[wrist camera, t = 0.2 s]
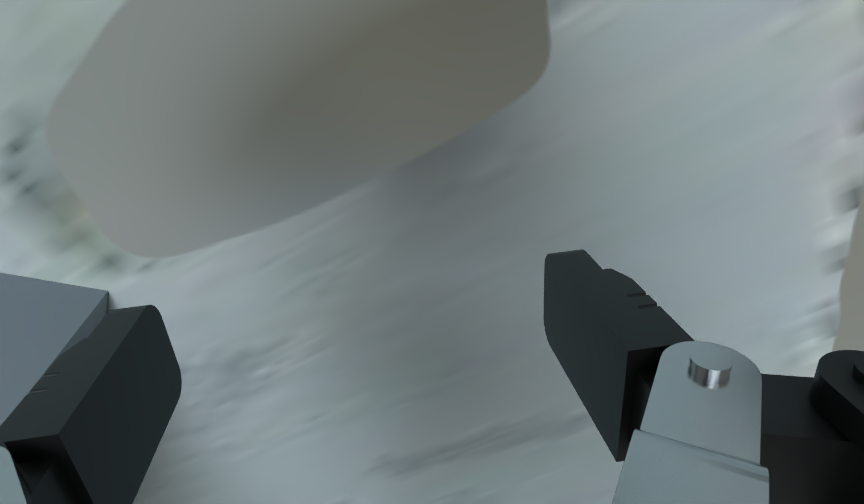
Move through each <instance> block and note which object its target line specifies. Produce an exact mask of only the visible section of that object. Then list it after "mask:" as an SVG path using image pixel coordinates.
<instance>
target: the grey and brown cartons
mask: <svg viewBox="0 0 864 504" xmlns="http://www.w3.org/2000/svg"><path fill="white" fill-rule="evenodd" d="M107 299H108V291H103V290H98V289H92V288H86V287H80V286H74V285H68V284H62V283H56V282H50V281H44V280H38V279H32V278H27V277H21V276H15V275H9V274H3V273H0V426H1V424H2V423H3V422H4V421H5V420H6V418H7V417H8V416H9V415H10V414H11V413H12V411H13V410H14V409H15V408H16V407H17V405H18V404H19V403H20V402H21V401H22V399H23V398H24V397H25V396H26V395H28V394H30V390H31V389H32V388H33V386H34V385H35V384H36V383H37V382H38V380H39V379H40V378H44V373H45V372H46V371H47V370H48V369H49V367H50V366H51V365H52V364H53V363H54V361H55V360H56V359H57V358H58V357H59V356H60V355H61V354H63V353H64V352H65V351H67V350H68V349H70V348H71V347H72V346H74V345H75V344H77V343H78V342H79V341H81V340H82V339H84V338H88V336H89V335H90V334H91V333H92V331H93V330H94V329H95V328H96V326H97V325H98V324H99V323H100V321H101V320H102V319H103V318H104V316H105V315H106V314H107Z"/></svg>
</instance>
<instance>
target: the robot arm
mask: <svg viewBox="0 0 864 504" xmlns="http://www.w3.org/2000/svg"><path fill="white" fill-rule="evenodd" d="M544 326H545V332H546V336H547V339H548V342H549V344H550V346H551V348H552V350H553V352H554V353H555V355H556V357H557V359H558V360H559V362H560V364H561V366H562V367H563V369H564V371H565V373H566V374H567V376H568V378H569V380H570V381H571V383H572V385H573V387H574V388H575V390H576V392H577V394H578V395H579V397H580V399H581V401H582V402H583V404H584V406H585V408H586V409H587V411H588V413H589V415H590V416H591V418H592V420H593V422H594V423H595V425H596V427H597V429H598V430H599V432H600V434H601V436H602V437H603V439H604V441H605V443H606V444H607V446H608V448H609V450H610V451H611V453H612V455H613V457H614V458H615V460H616V462H619V461H624V465H623V468H622V471H621V475H620V478H619V481H618V485H617V488H616V491H615V495H614V498H613V501H612V504H864V351H857V350H841V351H834V352H830V353H827V354H826V355H824V356H822V357H821V359H820V360H819V363H818V366H817V369H816V373H815V376H814V378H811V377H797V376H782V375H768V374H761V373H760V371H759V369H758V368H757V367H756V365H755V364H754V363H753V362H752V361H751V360H750V359H748V358H747V357H745V356H744V355H742V354H741V353H739V352H737V351H735V350H733V349H731V348H728V347H725V346H722V345H719V344H715V343H709V342H702V341H694V340H693V339H692V338H691V337H690V336H689V335H688V334H687V333H686V332H685V331H684V330H683V329H682V328H681V327H680V326H679V325H678V324H677V323H676V322H675V321H674V320H673V319H672V318H671V317H670V316H669V315H668V314H667V313H666V312H665V311H664V310H663V309H662V308H661V307H660V306H658V307H657V303H656V302H655V301H654V300H653V299H652V298H651V297H650V296H649V295H646V292H645V291H644V290H643V289H642V288H641V287H640V286H639V285H638V284H637V283H636V282H635V281H634V280H633V279H631V278H629V277H627V276H625V275H623V274H621V273H619V272H617V271H615V270H613V269H604V270H603V269H602V268H601V267H600V266H599V265H598V264H597V263H596V262H595V261H594V260H593V259H592V258H591V257H590V255H589V254H588V253H587V252H586V251H585V250H574V251H566V252H559V253H551V254H548V255H547V256H546V259H545V271H544ZM180 394H181V372H180V368H179V365H178V362H177V359H176V356H175V353H174V351H173V348H172V345H171V342H170V339H169V336H168V334H167V331H166V328H165V325H164V322H163V320H162V317H161V314H160V312H159V310H158V309H157V308H156V307H155V306H153V305H146V306H138V307H130V308H123V309H115V310H111V311H109V312H108V313H107V314H106V315H105V316H104V318H103V319H102V320H101V321H100V323H99V324H98V325H97V326H96V328H95V329H94V330H93V331H92V333H91V334H90V335H89V336H88V338H84V339H82V340H81V341H79V342H78V343H77V344H75V345H74V346H72V347H71V348H70V349H68V350H67V351H65V352H64V353H63V354H61V355H60V356H59V357H58V358H57V359H56V360H55V361H54V363H53V364H52V365H51V366H50V367H49V369H48V370H47V371H46V372H45V373H44V378H40V379H39V380H38V382H37V383H36V384H35V385H34V386H33V388H32V389H31V390H30V394H28V395H26V396H25V397H24V398H23V399H22V401H21V402H20V403H19V404H18V405H17V407H16V408H15V409H14V410H13V411H12V413H11V414H10V415H9V416H8V417H7V418H6V420H5V421H4V422H3V423H2V424H1V426H0V504H132V503H133V501H134V499H135V496H136V494H137V492H138V490H139V487H140V485H141V483H142V481H143V478H144V476H145V474H146V472H147V470H148V467H149V465H150V463H151V461H152V458H153V456H154V454H155V452H156V449H157V447H158V445H159V443H160V440H161V438H162V436H163V434H164V431H165V429H166V427H167V425H168V422H169V420H170V418H171V416H172V414H173V411H174V409H175V407H176V405H177V402H178V400H179V397H180Z"/></svg>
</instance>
